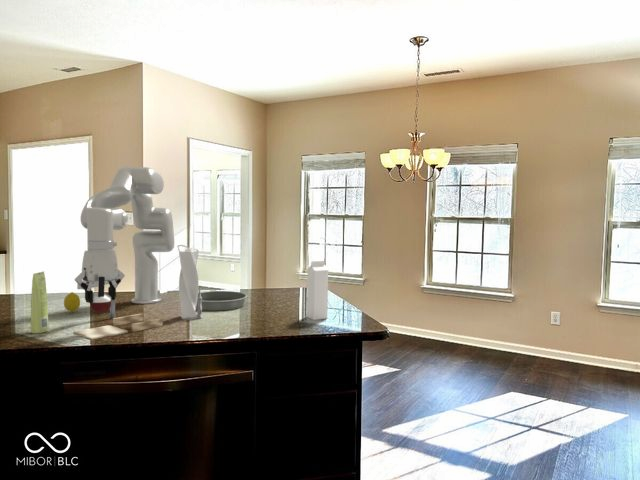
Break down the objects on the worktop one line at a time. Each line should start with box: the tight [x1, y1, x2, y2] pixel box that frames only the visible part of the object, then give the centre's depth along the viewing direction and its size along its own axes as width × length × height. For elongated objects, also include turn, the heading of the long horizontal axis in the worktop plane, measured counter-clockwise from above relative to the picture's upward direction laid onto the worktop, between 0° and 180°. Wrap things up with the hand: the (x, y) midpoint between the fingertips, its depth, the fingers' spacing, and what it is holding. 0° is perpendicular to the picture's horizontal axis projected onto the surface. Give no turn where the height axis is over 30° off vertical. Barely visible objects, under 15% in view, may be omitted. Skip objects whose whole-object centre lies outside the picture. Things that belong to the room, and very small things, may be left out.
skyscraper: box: [177, 244, 203, 321], centre depth 174 cm, size 8×8×28 cm
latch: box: [76, 280, 116, 320], centre depth 163 cm, size 20×3×17 cm, turn 170°
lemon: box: [63, 291, 81, 313], centre depth 179 cm, size 6×6×8 cm
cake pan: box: [196, 290, 248, 311], centre depth 199 cm, size 25×25×4 cm
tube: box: [30, 271, 49, 334], centre depth 149 cm, size 6×5×20 cm
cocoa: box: [89, 277, 111, 314], centre depth 149 cm, size 10×6×12 cm, turn 8°
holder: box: [112, 313, 163, 332], centre depth 160 cm, size 11×13×2 cm
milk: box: [306, 260, 329, 321], centre depth 177 cm, size 6×6×22 cm
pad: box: [72, 324, 129, 341], centre depth 149 cm, size 12×12×1 cm
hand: (100, 300), depth 149 cm, fingers closed on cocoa, 6 cm apart
